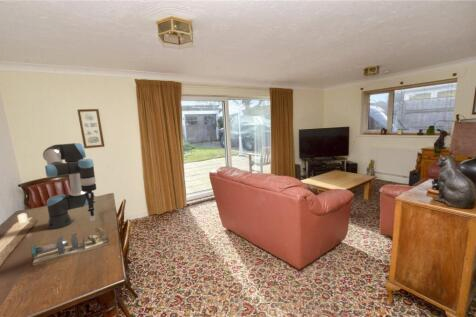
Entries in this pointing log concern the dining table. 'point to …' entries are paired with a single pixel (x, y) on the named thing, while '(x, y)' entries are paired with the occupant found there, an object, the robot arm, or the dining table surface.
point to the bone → (94, 237)
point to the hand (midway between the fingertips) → (92, 216)
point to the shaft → (45, 248)
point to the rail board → (68, 251)
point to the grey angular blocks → (74, 243)
